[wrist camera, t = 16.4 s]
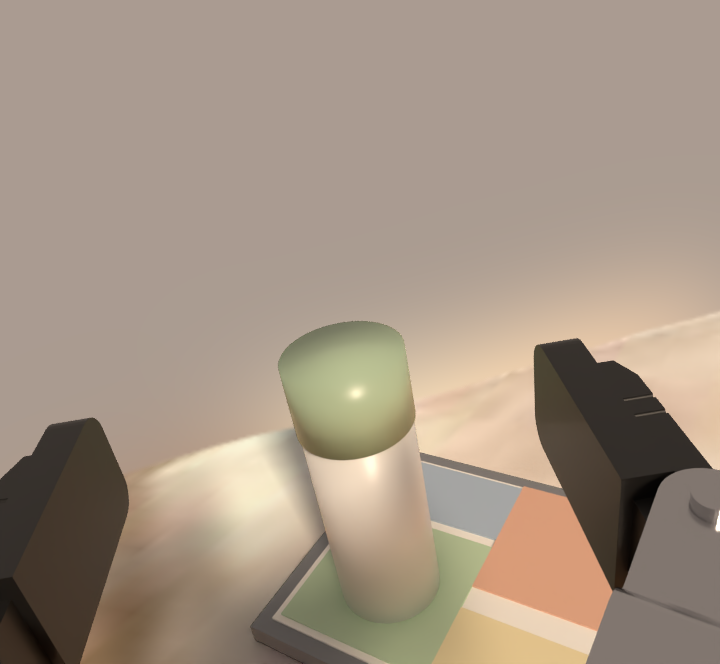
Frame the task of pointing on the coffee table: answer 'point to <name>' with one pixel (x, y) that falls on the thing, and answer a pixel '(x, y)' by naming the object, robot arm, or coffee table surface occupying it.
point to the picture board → (461, 584)
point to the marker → (365, 464)
